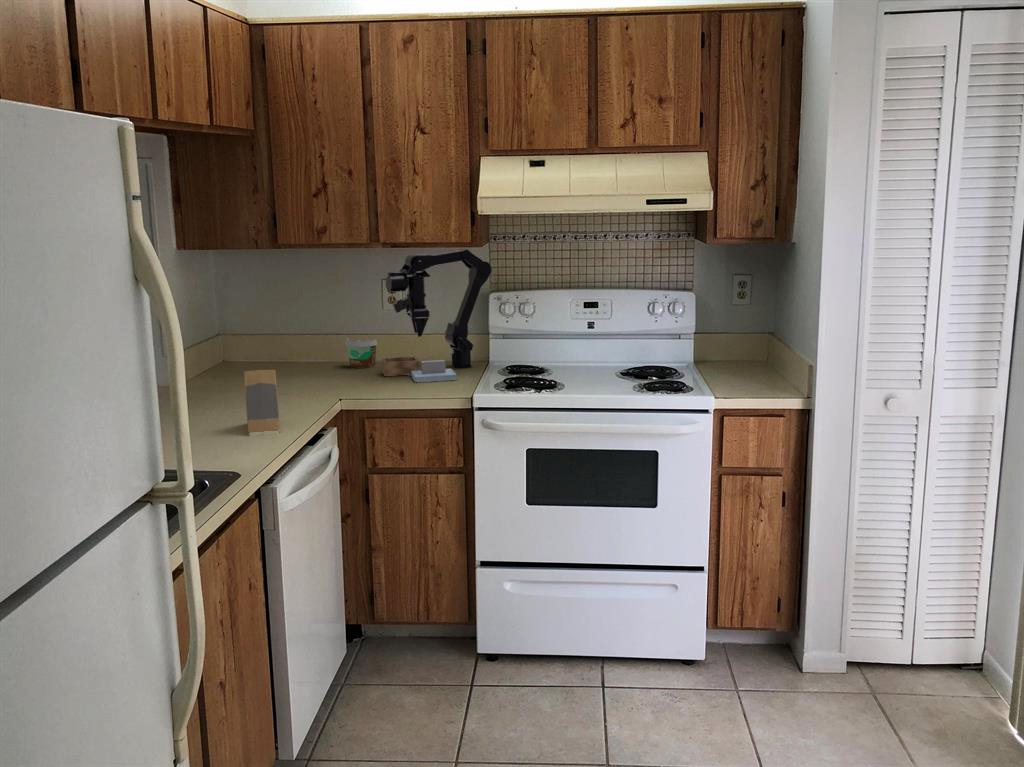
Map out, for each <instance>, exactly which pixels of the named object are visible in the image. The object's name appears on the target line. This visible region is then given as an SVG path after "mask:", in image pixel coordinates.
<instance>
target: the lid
mask: <svg viewBox="0 0 1024 767" xmlns="http://www.w3.org/2000/svg"><path fill="white" fill-rule="evenodd" d="M420 369H421V370H420ZM420 369H419V370H417V371H411V375H410V377H411V376H412V377H411V379H412V378H413V379H412V380H413V381H415V382H414V383H415V384H417V383H416V382H421V383H432V382H431V381H437V382H444V381H443V380H454V381H457V380H458V378H457V377H458V376H457V372H455V371H454V370H453V369H452V368H446V360H445V359H435V360H421V361H420Z"/></svg>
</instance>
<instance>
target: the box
mask: <svg viewBox="0 0 1024 767" xmlns="http://www.w3.org/2000/svg"><path fill="white" fill-rule="evenodd" d="M417 370H420V360H419V359H418V358H417V356H414V355H413V356H401V357H400V356H399V357H382V358H381V373H382V372H383V373H382V375H383V374H384V375H383V376H394V375H410V376H411V371H417ZM394 377H395V376H394Z"/></svg>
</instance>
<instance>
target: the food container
mask: <svg viewBox="0 0 1024 767" xmlns="http://www.w3.org/2000/svg"><path fill="white" fill-rule="evenodd" d="M378 344H379V343H378V340H377V339H370V340H366V339H365V340H363V339H359V340H349V338H346V340H345V346H346V347H347V352H348V353H347V354H348V359H349V365H350V367H351V368H353V367H358V368H357V369H360V368H359V367H369V368H371V367H370V366H374V365H375V366H376V356H377V355H376V354H377V346H378ZM375 366H374V367H375Z"/></svg>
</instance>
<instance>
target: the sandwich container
mask: <svg viewBox="0 0 1024 767" xmlns="http://www.w3.org/2000/svg"><path fill="white" fill-rule="evenodd" d="M243 375H244V376H243V378H244V379H243V380H244V398H245V399H244V400H245V411H246V422H247V432H249V433H250V432H251V433H252V432H264V431H278V430H280V431H281V424H280V421H281V420H280V411H279V400H278V399H279V398H278V387H277V386H278V384H277V372H276V369H256V370H245V371H244V372H243ZM249 433H248V434H249Z"/></svg>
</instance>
